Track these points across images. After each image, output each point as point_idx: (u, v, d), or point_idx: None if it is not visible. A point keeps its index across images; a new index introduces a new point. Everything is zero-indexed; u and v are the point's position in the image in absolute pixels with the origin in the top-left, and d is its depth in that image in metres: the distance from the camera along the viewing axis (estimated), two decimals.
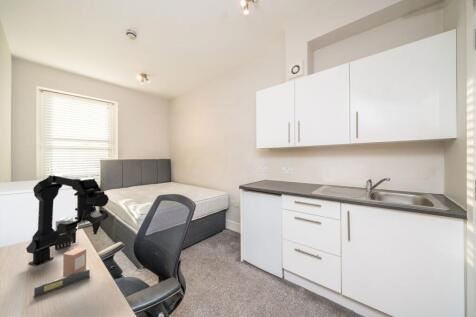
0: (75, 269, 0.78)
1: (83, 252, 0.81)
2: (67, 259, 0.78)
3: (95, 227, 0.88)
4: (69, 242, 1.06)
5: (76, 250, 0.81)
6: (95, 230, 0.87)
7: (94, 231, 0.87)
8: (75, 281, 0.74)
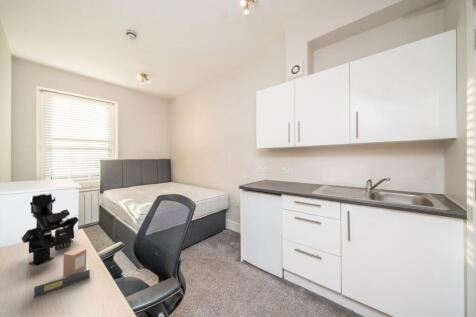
0: (75, 269, 0.78)
1: (83, 252, 0.81)
2: (67, 259, 0.78)
3: (69, 232, 0.88)
4: (69, 242, 1.06)
5: (76, 250, 0.81)
6: (71, 234, 0.87)
7: (71, 236, 0.87)
8: (75, 281, 0.74)
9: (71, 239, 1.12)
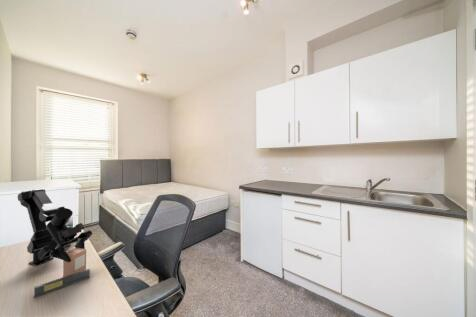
0: (75, 269, 0.78)
1: (83, 252, 0.81)
2: None
3: None
4: None
5: (76, 250, 0.81)
6: None
7: None
8: (75, 281, 0.74)
9: None
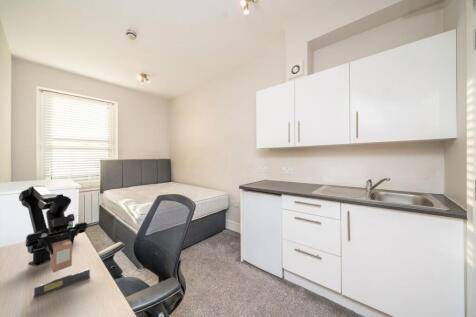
0: (57, 263, 0.73)
1: (68, 245, 0.76)
2: None
3: (70, 240, 0.79)
4: None
5: (63, 242, 0.77)
6: None
7: None
8: (75, 281, 0.74)
9: None
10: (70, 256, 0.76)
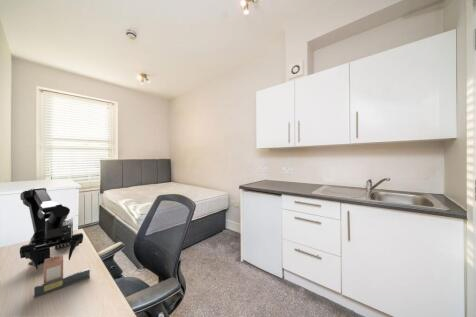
0: (47, 280, 0.71)
1: (59, 262, 0.73)
2: None
3: (69, 251, 0.78)
4: None
5: (55, 258, 0.75)
6: None
7: None
8: (75, 281, 0.74)
9: None
10: (61, 273, 0.74)
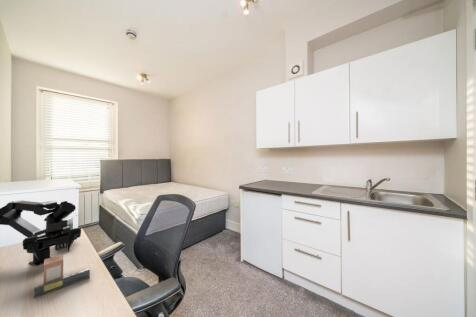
0: (47, 280, 0.71)
1: (59, 262, 0.73)
2: None
3: (68, 244, 0.85)
4: None
5: (56, 258, 0.75)
6: None
7: (67, 248, 0.84)
8: (75, 281, 0.74)
9: None
10: (61, 273, 0.74)
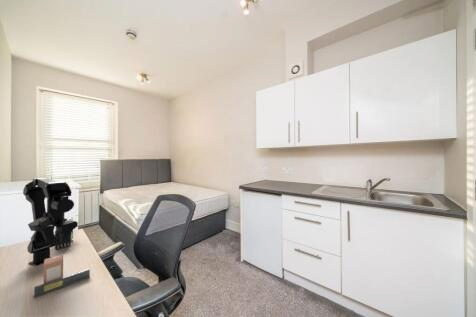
0: (47, 280, 0.71)
1: (59, 262, 0.73)
2: None
3: None
4: (69, 242, 1.06)
5: (55, 258, 0.75)
6: None
7: None
8: (75, 281, 0.74)
9: (71, 239, 1.12)
10: (61, 273, 0.74)
